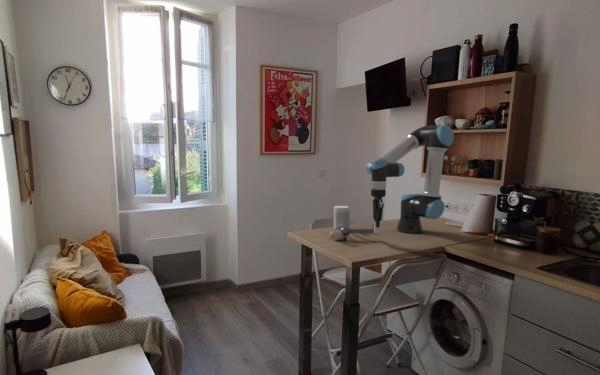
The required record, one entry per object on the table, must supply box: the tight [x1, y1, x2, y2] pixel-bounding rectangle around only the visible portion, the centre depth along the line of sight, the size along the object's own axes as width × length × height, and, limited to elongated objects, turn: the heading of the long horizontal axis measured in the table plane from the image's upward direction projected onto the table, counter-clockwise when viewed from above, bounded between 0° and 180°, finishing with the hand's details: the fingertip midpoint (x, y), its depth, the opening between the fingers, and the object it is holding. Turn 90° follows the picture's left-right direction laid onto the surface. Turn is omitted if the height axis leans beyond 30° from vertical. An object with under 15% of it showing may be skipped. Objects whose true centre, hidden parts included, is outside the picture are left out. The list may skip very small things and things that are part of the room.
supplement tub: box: [333, 205, 350, 230], centre depth 216 cm, size 10×10×15 cm
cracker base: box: [326, 233, 383, 248], centre depth 189 cm, size 23×20×2 cm
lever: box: [334, 223, 381, 240], centre depth 188 cm, size 24×5×8 cm, turn 94°
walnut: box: [329, 230, 340, 239], centre depth 192 cm, size 5×5×4 cm
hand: (376, 232), depth 185 cm, fingers closed
